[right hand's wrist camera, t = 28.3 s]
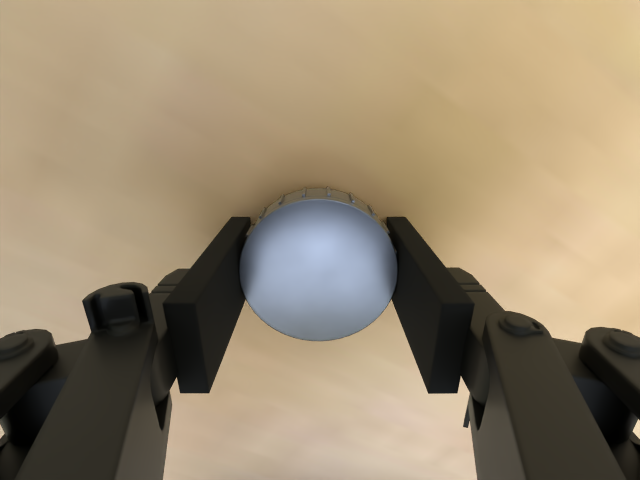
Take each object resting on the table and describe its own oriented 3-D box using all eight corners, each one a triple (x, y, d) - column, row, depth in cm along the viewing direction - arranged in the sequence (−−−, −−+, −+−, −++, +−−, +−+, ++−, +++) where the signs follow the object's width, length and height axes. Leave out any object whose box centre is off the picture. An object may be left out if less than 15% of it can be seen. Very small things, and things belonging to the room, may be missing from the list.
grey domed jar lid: (228, 200, 12) (215, 212, 11) (383, 172, 12) (392, 181, 11) (264, 327, 15) (258, 352, 13) (398, 308, 14) (407, 330, 13)
